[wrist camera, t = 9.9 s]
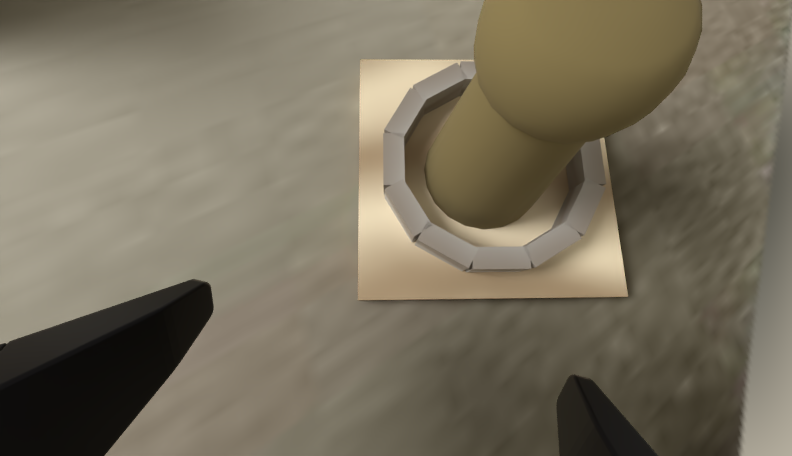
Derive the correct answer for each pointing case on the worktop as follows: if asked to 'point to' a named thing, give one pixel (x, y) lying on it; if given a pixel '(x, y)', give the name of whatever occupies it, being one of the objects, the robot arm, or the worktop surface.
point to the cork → (552, 95)
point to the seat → (448, 239)
